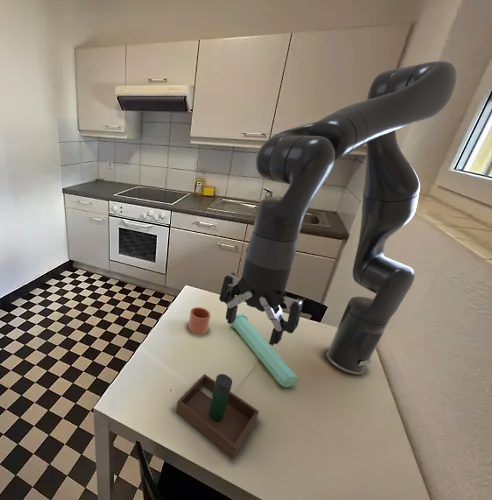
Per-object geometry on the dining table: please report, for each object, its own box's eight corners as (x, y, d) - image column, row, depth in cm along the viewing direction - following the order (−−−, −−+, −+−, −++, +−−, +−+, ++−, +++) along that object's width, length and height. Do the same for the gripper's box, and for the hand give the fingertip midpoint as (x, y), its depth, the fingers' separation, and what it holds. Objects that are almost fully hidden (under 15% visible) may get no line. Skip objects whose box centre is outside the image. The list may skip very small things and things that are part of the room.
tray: (202, 383, 72) (204, 373, 70) (255, 421, 63) (259, 411, 62) (176, 411, 64) (177, 401, 63) (232, 459, 56) (236, 448, 54)
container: (301, 371, 69) (245, 310, 91) (280, 381, 69) (228, 318, 91) (302, 385, 72) (247, 323, 94) (282, 395, 72) (231, 330, 94)
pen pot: (195, 320, 96) (197, 305, 93) (210, 329, 92) (213, 313, 89) (184, 328, 91) (186, 312, 89) (200, 338, 88) (203, 321, 85)
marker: (213, 406, 66) (221, 371, 61) (225, 415, 64) (235, 380, 59) (205, 415, 63) (213, 379, 59) (218, 425, 61) (227, 389, 57)
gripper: (319, 265, 47) (294, 341, 53) (240, 241, 56) (227, 308, 62) (306, 280, 42) (281, 362, 48) (221, 251, 51) (209, 323, 57)
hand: (250, 331), depth 55 cm, fingers open, 8 cm apart
